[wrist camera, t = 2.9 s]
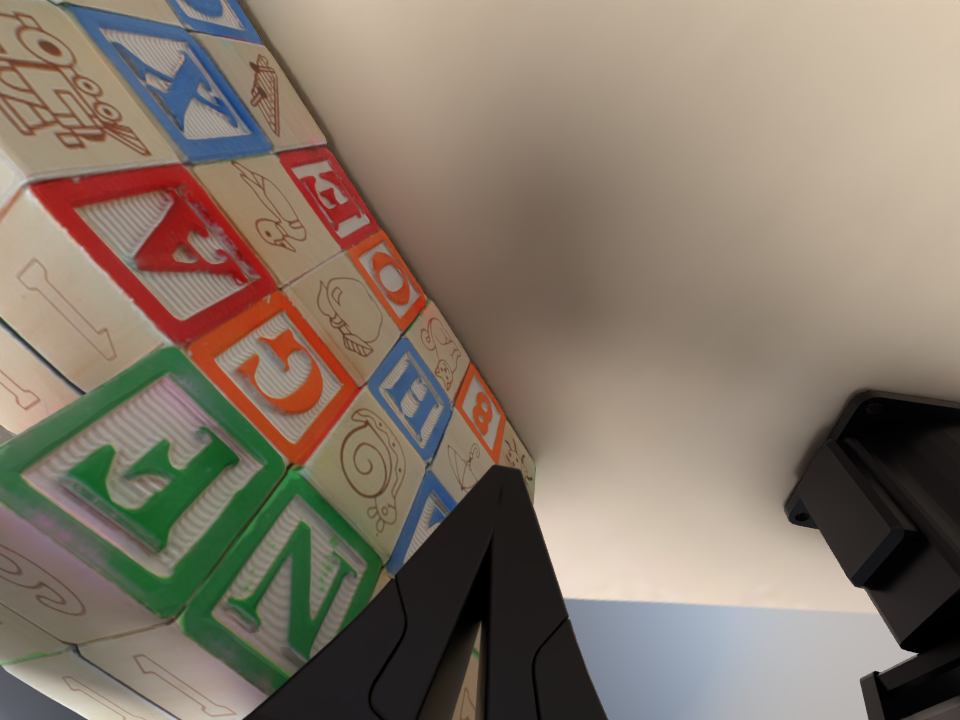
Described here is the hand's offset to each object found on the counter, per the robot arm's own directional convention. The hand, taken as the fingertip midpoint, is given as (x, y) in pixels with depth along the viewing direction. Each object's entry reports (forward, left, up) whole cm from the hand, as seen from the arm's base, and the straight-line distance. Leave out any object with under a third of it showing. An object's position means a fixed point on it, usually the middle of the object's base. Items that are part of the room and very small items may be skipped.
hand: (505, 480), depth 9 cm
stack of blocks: (+7, 0, -8) cm, 11 cm away
